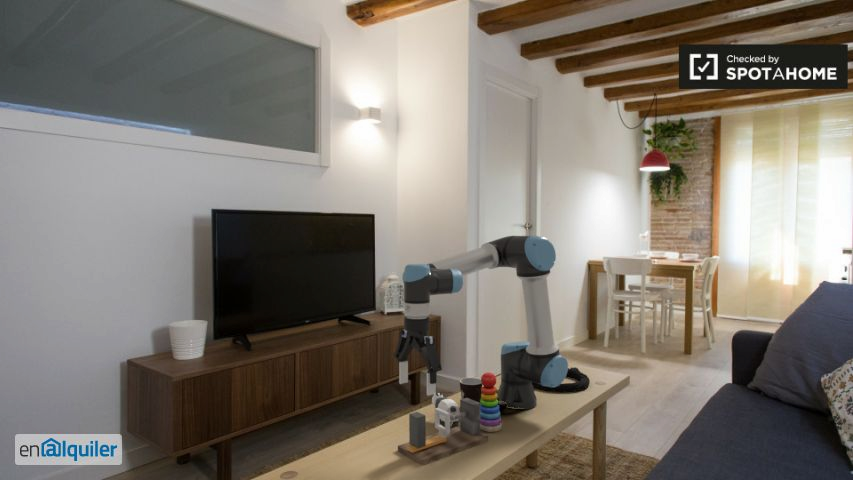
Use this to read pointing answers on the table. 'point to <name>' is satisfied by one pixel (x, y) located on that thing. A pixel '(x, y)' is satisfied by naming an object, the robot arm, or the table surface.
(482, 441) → the board
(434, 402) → the giant panda
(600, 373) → the table surface
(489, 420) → the stacking toy
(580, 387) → the cable lock
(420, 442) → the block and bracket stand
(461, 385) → the coffee mug
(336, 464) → the table surface
